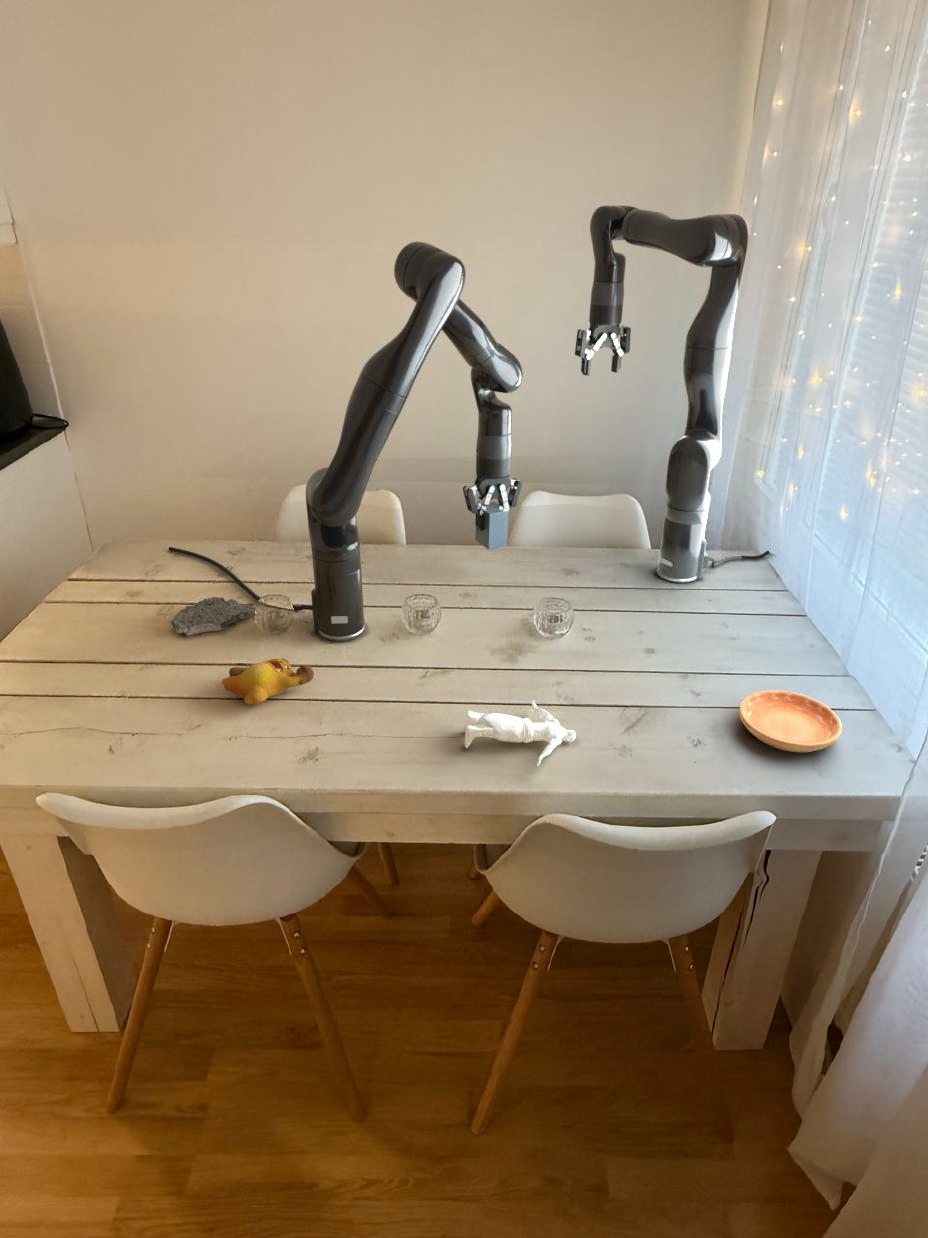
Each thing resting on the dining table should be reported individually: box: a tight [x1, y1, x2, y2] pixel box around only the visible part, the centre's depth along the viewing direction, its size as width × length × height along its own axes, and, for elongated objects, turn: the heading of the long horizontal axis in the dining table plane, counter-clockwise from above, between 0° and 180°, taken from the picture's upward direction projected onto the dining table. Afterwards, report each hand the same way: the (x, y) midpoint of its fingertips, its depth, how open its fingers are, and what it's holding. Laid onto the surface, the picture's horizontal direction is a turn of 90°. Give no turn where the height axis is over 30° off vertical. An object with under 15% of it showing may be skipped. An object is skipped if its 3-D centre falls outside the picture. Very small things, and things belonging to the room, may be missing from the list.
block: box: [474, 501, 509, 551], centre depth 181 cm, size 5×6×8 cm
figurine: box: [464, 699, 577, 767], centre depth 133 cm, size 17×5×18 cm
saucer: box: [739, 689, 843, 753], centre depth 136 cm, size 16×16×3 cm
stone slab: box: [170, 596, 256, 637], centre depth 168 cm, size 12×17×3 cm
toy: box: [221, 658, 315, 705], centre depth 144 cm, size 11×6×15 cm
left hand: (491, 527), depth 181 cm, fingers closed on block, 4 cm apart
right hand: (600, 373), depth 197 cm, fingers open, 8 cm apart
